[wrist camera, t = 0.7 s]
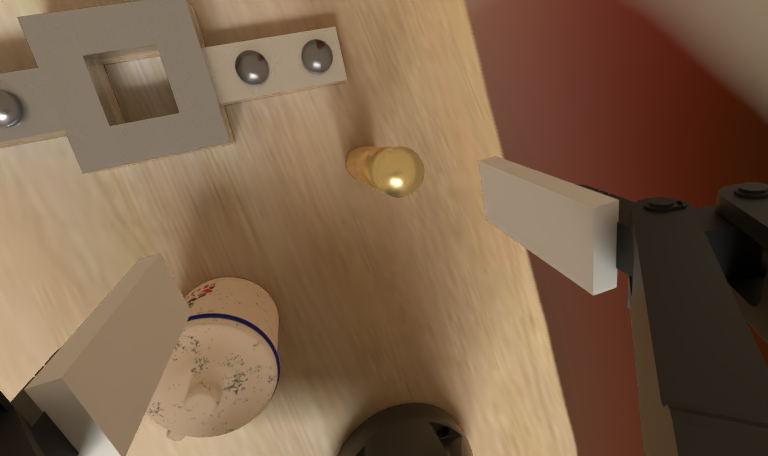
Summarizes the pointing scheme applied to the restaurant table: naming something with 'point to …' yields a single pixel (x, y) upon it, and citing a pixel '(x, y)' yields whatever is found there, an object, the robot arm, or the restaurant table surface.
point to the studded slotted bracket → (182, 66)
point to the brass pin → (387, 169)
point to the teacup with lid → (220, 361)
